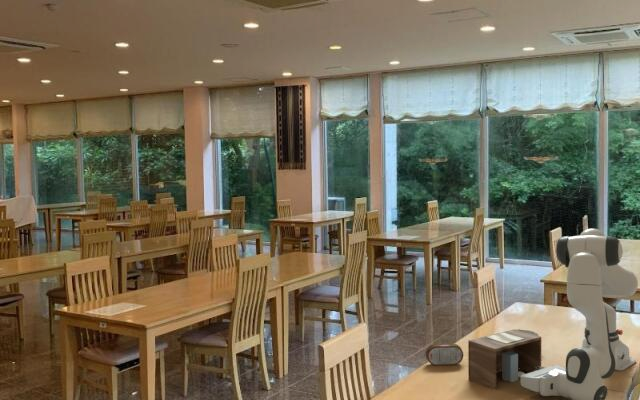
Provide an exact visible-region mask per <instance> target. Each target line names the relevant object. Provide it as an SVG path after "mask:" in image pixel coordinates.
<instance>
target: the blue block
mask: <svg viewBox="0 0 640 400" xmlns="http://www.w3.org/2000/svg"><path fill="white" fill-rule="evenodd" d="M517 372H519V369H518V354H517V353H514V352H511V351H508V352H504V353H502V371H501V374H502V376H501V378H502V380H504V381H506V382H509V383H511V382H515V381H519V377H518V376H517Z"/></svg>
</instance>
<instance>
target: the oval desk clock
mask: <svg viewBox="0 0 640 400" xmlns="http://www.w3.org/2000/svg"><path fill="white" fill-rule="evenodd" d="M425 358H426V360H427V362H429V363H430V364H431V365H432V366H457V365H458V364H461V362H462V361H463V360H464V359H463V358H464V352H463V350H462V347H461V346H460V345H459V344H456V343H433V344H430V345H429V346H428V347H427V348H426V351H425Z"/></svg>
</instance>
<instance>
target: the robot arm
mask: <svg viewBox="0 0 640 400" xmlns="http://www.w3.org/2000/svg"><path fill="white" fill-rule="evenodd" d="M555 244H556V245H555V251H554V252H555V256H556V259H557V261H558V262H559V263H560V264H561V265H564V266H565V268H567V276H566V295H567V296H566V297H567V300H568V302H569V304H570V306H572V308H574V309H575V310H576V311H578V312H579V313H580V314H582V315H583V317H584V318H585V328H584V331H583V332H584V333H583V334H584V339H583V340H582V345H581V347H577V348H573V349H571V350H569V351H568V353H567V354H566V359H565V367H564V366H562V365H559V364H558V365H557V364H554V365H550V366H541V367H540V366H536V367H534V368H535V369H534V370H535V371H534V372H527V373H525V371H523V370H522V371H521V370H520V371H519V370H518V372H517V376H518V378H520V379H519V380H520V386H521V387H523V388H525V389H527V390H530V391H532V392H535V393H539V394H540V395H541V396H542V397H550V396H556V397H557V396H558V397H563V398H566V399H567V398H568V399H571V400H606V397H607V395H608V387H607V385H606V384H605V382H604V381H603V379H608V378H610V377H611V376H612V375H613V374H614V372H615V371H624V370H626V369H628V368H629V367H631V366H632V365H634V364H635V363H636V362H637V359H636V358H633V357H631V356H630V349H629V346H628V345H626V343H624V342H623V341H622V340H621V339H620V337H619V335H620V336H622V335H623V333H624V331H623V329H618V328H617V312H616V309H614V308H613V306H611V305H609V304H608V303H606V302H605V301H604V299H603V296H605V297H614V298H621V297H623V298H624V297H631V296H634V294H635V293H636V292H637V290H638V286H639V281H638V277H637V276H636V274H635V273H634V272H633V271H630V270H629V269H626V268H624V267H622V266H621V265H619V264H620V262H621V259H622V258H623V253H624V252H623V245H622V244H621V240H619V239H618V237H615V236H611V235H607V236H606V235H605V234H604V232H603V231H602V230H600V229H597V228H587V229H585V230H583V231H582V232H581V233H580V234H579V235H573V236H569V235H566V236H561V237H560V238H558V240H557V242H556V243H555Z"/></svg>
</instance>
